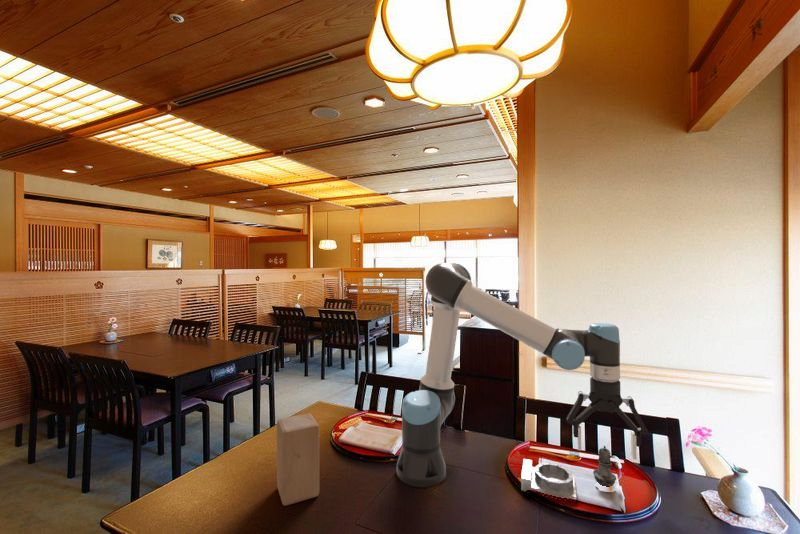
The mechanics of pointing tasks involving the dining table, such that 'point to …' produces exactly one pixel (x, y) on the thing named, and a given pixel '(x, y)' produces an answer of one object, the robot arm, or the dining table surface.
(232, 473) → the dining table surface
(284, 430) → the wooden block
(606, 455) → the grey tall piece
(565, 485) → the mount
